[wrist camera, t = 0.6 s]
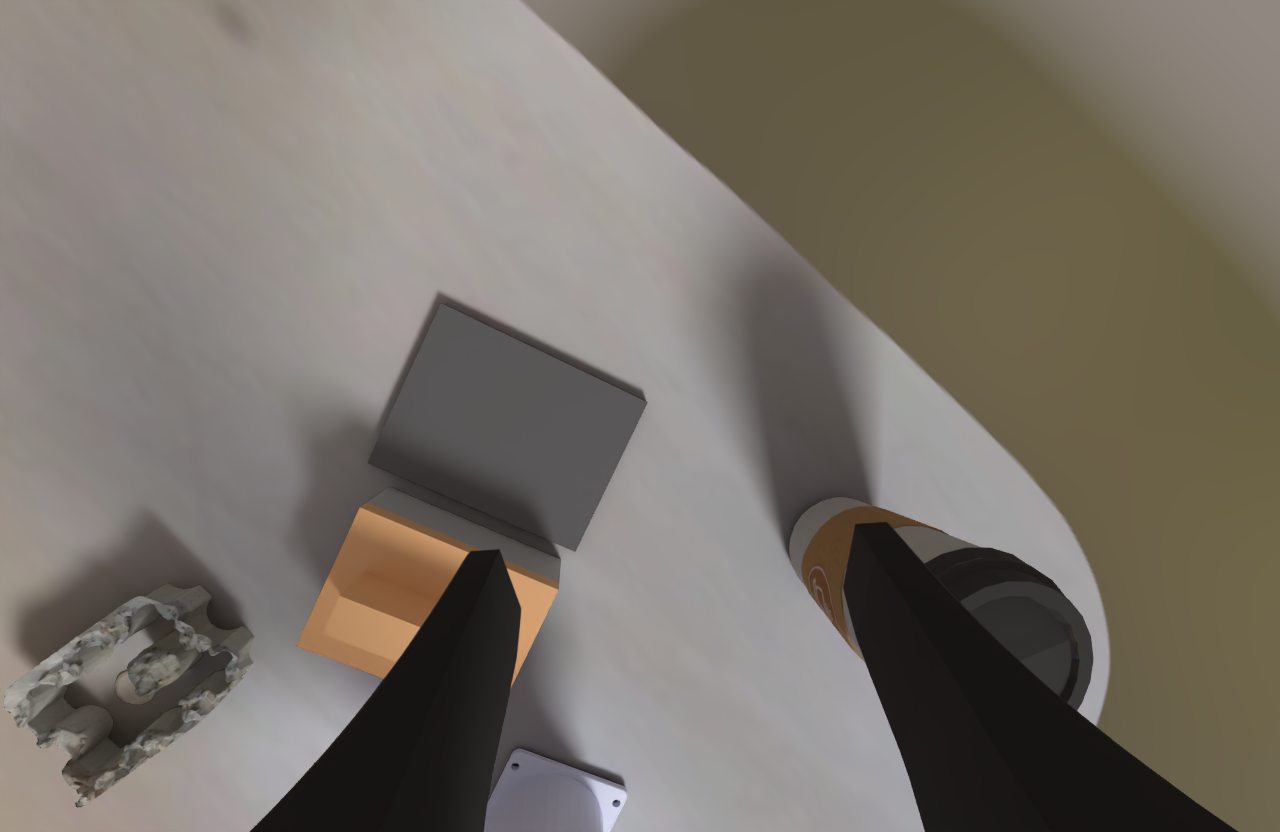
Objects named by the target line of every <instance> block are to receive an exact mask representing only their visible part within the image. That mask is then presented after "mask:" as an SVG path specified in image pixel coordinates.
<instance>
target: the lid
mask: <svg viewBox="0 0 1280 832" xmlns="http://www.w3.org/2000/svg"><path fill="white" fill-rule="evenodd" d="M470 551H480V549H478V548H476V547H473V546H471V545H468V544H466V543H464V542H461V541H459V540H456V539H454V538H452V537H449V536H447V535H444V534H442V533H440V532H437V531H435V530H432V529H430V528H428V527H425V526H423V525H420V524H418V523H416V522H413V521H411V520H409V519H406V518H404V517H401V516H399V515H397V514H394V513H392V512H389V511H387V510H385V509H382V508H380V507H377V506H375V505H373V504H370V503H368V502H367V503H365V504H364V505H362V506H361V507H360V508H359V510H358V512H357V515H356V517H355V519H354V521H353V523H352V525H351V528H350V530H349V532H348V534H347V536H346V538H345V541H344V543H343V545H342V547H341V549H340V551H339V554H338V556H337V558H336V560H335V562H334V564H333V567H332V569H331V571H330V573H329V575H328V577H327V580H326V582H325V584H324V586H323V588H322V590H321V593H320V595H319V597H318V599H317V601H316V603H315V606H314V608H313V610H312V612H311V614H310V616H309V619H308V621H307V623H306V625H305V627H304V630H303V632H302V634H301V636H300V638H299V640H298V643H297V645H296V646H297V647H299V648H302V649H305V650H307V651H310V652H313V653H316V654H318V655H321V656H324V657H326V658H329V659H332V660H334V661H337V662H340V663H342V664H345V665H348V666H351V667H353V668H356V669H359V670H361V671H364V672H367V673H369V674H372V675H375V676H377V677H380V678H383V679H384V678H385V677H386V675H387V674H388V673H389V671H390V670H391V669H392V667H393V666H394V665H395V663H396V662H397V660H398V659H399V658H400V656H401V655H402V654H403V652H404V651H405V649H406V648H407V646H408V645H409V643H410V642H411V641H412V639H413V638H414V636H415V635H416V633H417V632H418V630H419V629H420V627H421V626H422V624H423V623H424V622H425V620H426V619H427V617H428V616H429V614H430V613H431V611H432V610H433V608H434V606H435V605H436V603H437V602H438V600H439V599H440V597H441V596H442V594H443V592H444V591H445V589H446V588H447V586H448V585H449V583H450V581H451V580H452V578H453V577H454V575H455V573H456V572H457V570H458V569H459V567H460V565H461V564H462V562H463V560H464V559H465V557H466V556H467V554H468V553H469V552H470ZM503 560H504V559H503ZM504 562H505V565H506V568H507V571H508V573H509V576H510V579H511V581H512V584H513V587H514V590H515V592H516V595H517V598H518V600H519V603H520V606H521V621H520V632H519V642H518V651H517V659H516V664H515V669H514V674H513V679H512V684H511V687H512V685H513V683H514V681H515V679H516V677H517V675H518V673H519V670H520V668H521V666H522V664H523V662H524V660H525V658H526V656H527V654H528V652H529V650H530V648H531V646H532V644H533V642H534V640H535V637H536V635H537V633H538V631H539V629H540V627H541V625H542V623H543V621H544V619H545V617H546V615H547V613H548V611H549V609H550V607H551V604H552V602H553V600H554V598H555V596H556V594H557V592H558V590H559V582H557V581H555V580H552V579H550V578H547V577H545V576H543V575H540V574H538V573H535V572H533V571H531V570H528V569H526V568H523V567H521V566H519V565H516V564H514V563H512V562H509V561H507V560H504Z"/></svg>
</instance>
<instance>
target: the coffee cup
mask: <svg viewBox="0 0 1280 832" xmlns="http://www.w3.org/2000/svg"><path fill="white" fill-rule="evenodd" d="M876 522H887V523H889V524H890V525H891V526H892V527H893V528H894V530H895V531H896V532H897V533H898V534H899V535H900V537H901V538H902V539H903V540H904V541H905V542H906V543H907V545H908V546H909V547H910V548H911V549H912V550H913V551H914V553H915V554H916V555H917V556H918V557H919V558H920V559H921V560H922V562H923V563H924V564H925V565H926V566H927V567H928V568H929V569H930V570H931V572H932V573H933V574H934V575H935V576H936V577H937V578H938V579H939V580H940V581H941V582H942V584H943V585H944V586H945V587H946V588H947V589H948V590H949V591H950V592H951V593H952V594H953V595H954V596H955V597H956V598H957V599H958V600H959V601H960V602H961V603H962V605H963V606H964V607H965V608H966V609H967V610H968V611H969V612H970V613H971V614H972V615H973V616H974V617H975V618H976V619H977V620H978V621H979V622H980V623H981V624H982V625H983V626H984V627H985V628H986V629H987V630H988V631H989V632H990V633H991V634H992V635H993V636H994V637H995V638H996V639H997V640H998V641H999V642H1000V643H1001V644H1003V645H1004V646H1005V647H1006V648H1007V649H1008V650H1009V651H1010V652H1011V653H1012V654H1013V655H1014V656H1015V657H1016V658H1017V659H1018V660H1019V661H1021V662H1022V663H1023V664H1024V665H1025V666H1026V667H1027V668H1028V669H1029V670H1030V671H1031V672H1033V673H1034V674H1035V675H1036V676H1037V677H1038V678H1039V679H1040V680H1041V681H1043V682H1044V683H1045V684H1046V685H1047V686H1048V687H1049V688H1051V689H1052V690H1053V691H1054V692H1055V693H1056V694H1058V695H1059V696H1060V697H1061V698H1062V699H1063V700H1065V701H1066V702H1067V703H1068V704H1069V705H1071V706H1072V707H1073V708H1074V709H1075V710H1076V711H1077V710H1078V708H1079V707H1080V705H1081V704H1082V701H1083V699H1084V696H1085V694H1086V691H1087V689H1088V686H1089V683H1090V680H1091V672H1092V665H1093V651H1092V642H1091V636H1090V633H1089V631H1088V628H1087V626H1086V623H1085V621H1084V619H1083V616H1082V615H1081V614H1080V613H1079V611H1078V610H1077V609H1076V608H1075V606H1074V605H1073V604H1072V603H1071V602H1070V600H1069V599H1067V598H1066V597H1065V595H1064V594H1063V593H1062V592H1061V590H1060V589H1059V588H1058V587H1057V585H1056V584H1055V583H1054V582H1053V581H1052V580H1051V579H1050V578H1048V577H1047V576H1045V575H1044V574H1042V573H1041V572H1039V571H1038V570H1036V569H1035V568H1033V567H1031V566H1030V565H1028V564H1026V563H1025V562H1023V561H1022V560H1020V559H1019V558H1017V557H1016V556H1014V555H1013V554H1010V553H1006V552H1003V551H1000V550H996V549H993V548H981V547H979V546H976V545H974V544H971V543H968V542H966V541H963V540H960V539H958V538H955V537H953V536H950V535H948V534H947V533H945V532H943V531H941V530H939V529H936V528H934V527H931V526H928V525H926V524H923V523H920V522H918V521H915V520H912V519H910V518H907V517H904V516H902V515H899V514H896V513H894V512H891V511H888V510H885V509H882V508H878V507H875V506H872V505H869V504H866V503H864V502H861V501H858V500H855V499H852V498H848V497H834V498H830V499H826V500H823V501H821V502H819V503H817V504H815V505H813V506H812V507H810V508H809V509H808V510H807V511H806V512H804V513H803V514H802V515H801V517H800V518H799V520H798V521H797V523H796V524H795V526H794V529H793V532H792V535H791V538H790V547H789V554H790V559H791V564H792V566H793V568H794V571H795V573H796V575H797V576H798V578H799V579H800V580H801V581H802V583H803V584H804V585H805V586H806V588H807V590H808V592H809V594H810V595H811V596H812V598H813V599H814V600H815V602H816V603H817V604H818V606H819V607H820V608H821V609H822V611H823V612H824V613H825V615H826V616H827V617H828V619H829V620H830V621H831V622H832V624H833V625H834V626H835V628H836V629H837V630H838V631H839V633H840V634H841V635H842V637H843V638H844V639H845V641H846V642H847V643H848V644H849V646H850V647H851V648H852V650H853V651H854V652H855V653H856V654H857V655H858V656H859V657H860V658H861V659H862V660H863V661H864V662H865V660H864V657H863V655H862V652H861V650H860V647H859V644H858V642H857V639H856V636H855V632H854V629H853V625H852V621H851V618H850V614H849V610H848V606H847V602H846V598H845V594H844V590H843V585H844V579H845V574H846V569H847V564H848V559H849V554H850V548H851V543H852V538H853V533H854V528H855V524H862V523H876Z"/></svg>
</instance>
